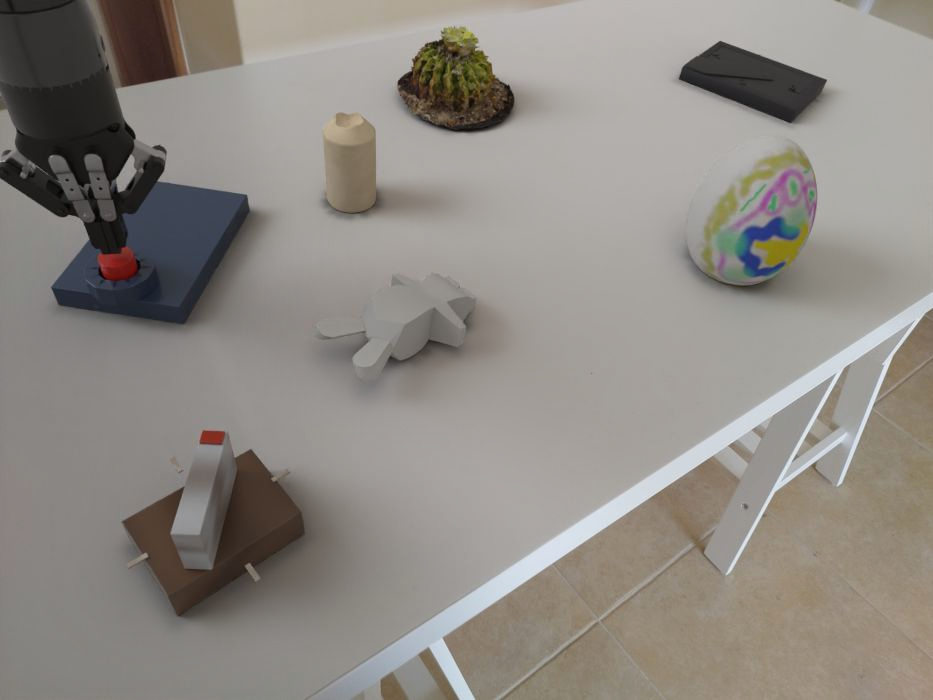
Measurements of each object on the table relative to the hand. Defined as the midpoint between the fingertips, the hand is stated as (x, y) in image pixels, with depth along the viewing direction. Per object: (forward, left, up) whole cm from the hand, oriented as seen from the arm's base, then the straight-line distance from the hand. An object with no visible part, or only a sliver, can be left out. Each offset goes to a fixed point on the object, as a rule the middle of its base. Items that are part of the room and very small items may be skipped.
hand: (113, 248), depth 65 cm
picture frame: (+92, -8, -6) cm, 93 cm away
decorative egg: (+53, -31, -6) cm, 62 cm away
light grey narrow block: (-6, -27, -3) cm, 28 cm away
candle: (+26, +2, -6) cm, 27 cm away
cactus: (+51, +13, -6) cm, 53 cm away
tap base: (-6, -27, -6) cm, 29 cm away
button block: (+5, +5, -6) cm, 9 cm away
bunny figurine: (+17, -19, -6) cm, 27 cm away
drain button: (0, 0, -3) cm, 3 cm away
